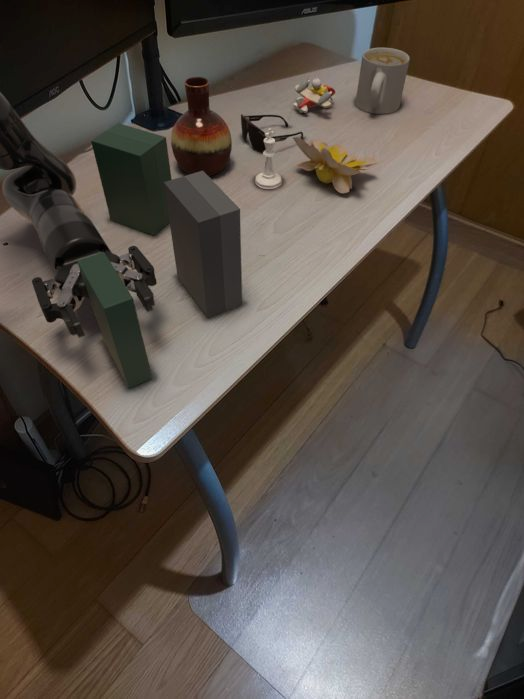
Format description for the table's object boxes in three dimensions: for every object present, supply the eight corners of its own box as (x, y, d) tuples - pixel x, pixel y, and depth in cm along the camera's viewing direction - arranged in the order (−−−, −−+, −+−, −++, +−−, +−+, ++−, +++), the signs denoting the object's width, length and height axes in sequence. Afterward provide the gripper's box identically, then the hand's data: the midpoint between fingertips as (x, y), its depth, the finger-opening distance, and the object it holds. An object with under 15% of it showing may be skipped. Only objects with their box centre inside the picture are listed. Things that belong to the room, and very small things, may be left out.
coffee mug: (366, 90, 121) (373, 44, 114) (406, 101, 118) (416, 53, 110) (341, 112, 114) (348, 64, 106) (383, 124, 111) (393, 75, 103)
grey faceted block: (207, 318, 72) (198, 222, 60) (177, 277, 78) (163, 181, 66) (242, 304, 74) (240, 208, 62) (210, 265, 80) (202, 170, 67)
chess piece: (249, 180, 95) (249, 127, 88) (270, 172, 97) (272, 119, 90) (265, 192, 93) (266, 138, 85) (287, 183, 95) (290, 130, 87)
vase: (165, 159, 100) (154, 75, 88) (218, 146, 103) (213, 64, 92) (187, 187, 94) (177, 100, 82) (242, 173, 97) (240, 88, 85)
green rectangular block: (154, 236, 84) (140, 155, 74) (110, 220, 87) (90, 140, 76) (176, 216, 88) (166, 136, 77) (134, 201, 91) (118, 122, 80)
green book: (128, 389, 64) (103, 308, 53) (103, 342, 69) (76, 260, 58) (152, 378, 65) (133, 298, 54) (126, 333, 70) (104, 251, 59)
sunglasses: (232, 134, 106) (234, 109, 103) (280, 128, 112) (284, 104, 108) (258, 157, 100) (261, 132, 97) (308, 150, 106) (312, 125, 102)
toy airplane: (334, 102, 117) (338, 72, 112) (329, 120, 111) (333, 90, 106) (294, 98, 118) (296, 68, 113) (288, 116, 112) (289, 85, 107)
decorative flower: (393, 176, 93) (392, 126, 85) (348, 210, 91) (342, 162, 83) (335, 149, 102) (330, 101, 94) (293, 179, 99) (283, 132, 91)
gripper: (9, 237, 65) (45, 318, 56) (117, 205, 69) (167, 274, 60) (29, 282, 70) (64, 362, 61) (128, 249, 75) (174, 319, 66)
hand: (115, 318), depth 61 cm, fingers open, 8 cm apart
